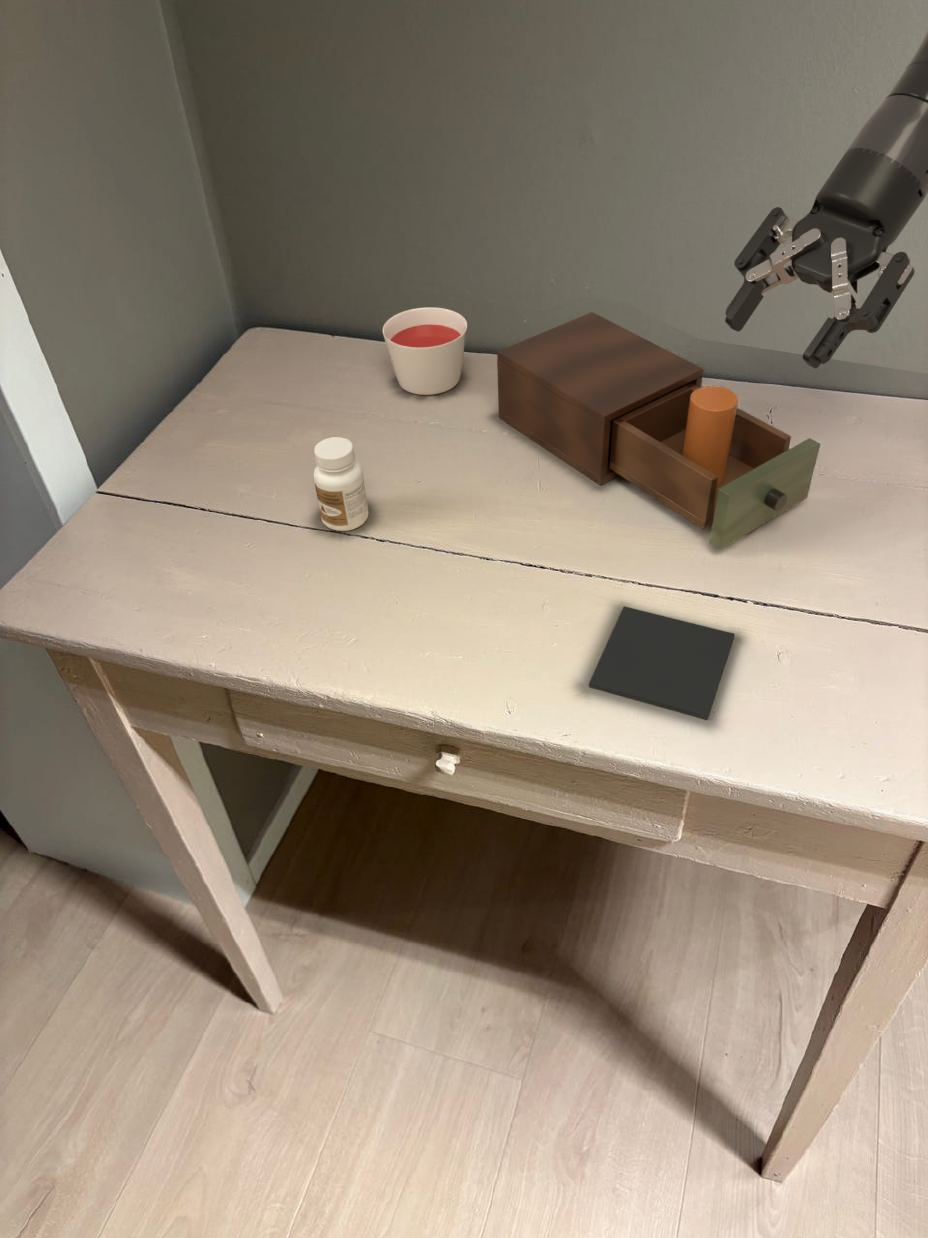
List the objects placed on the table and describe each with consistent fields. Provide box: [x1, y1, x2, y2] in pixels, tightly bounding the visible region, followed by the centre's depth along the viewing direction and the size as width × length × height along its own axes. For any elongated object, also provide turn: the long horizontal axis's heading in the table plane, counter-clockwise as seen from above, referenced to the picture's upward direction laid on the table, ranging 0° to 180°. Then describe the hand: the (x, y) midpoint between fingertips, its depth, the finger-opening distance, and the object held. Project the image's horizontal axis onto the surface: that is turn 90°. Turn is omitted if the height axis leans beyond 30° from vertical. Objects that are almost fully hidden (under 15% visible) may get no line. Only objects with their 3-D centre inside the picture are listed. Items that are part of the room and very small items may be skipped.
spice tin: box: [683, 385, 739, 485], centre depth 85 cm, size 4×4×8 cm
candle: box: [382, 306, 468, 396], centre depth 104 cm, size 9×9×6 cm
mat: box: [588, 605, 736, 720], centre depth 74 cm, size 9×9×1 cm
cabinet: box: [496, 311, 704, 486], centre depth 95 cm, size 16×13×8 cm
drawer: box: [610, 383, 821, 551], centre depth 86 cm, size 16×11×6 cm
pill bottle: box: [312, 436, 369, 532], centre depth 86 cm, size 4×4×8 cm
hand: (769, 344), depth 83 cm, fingers open, 8 cm apart
